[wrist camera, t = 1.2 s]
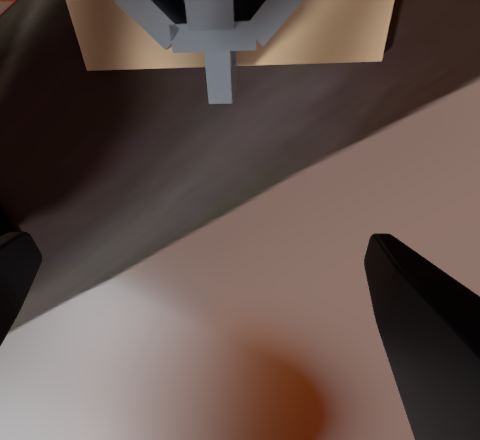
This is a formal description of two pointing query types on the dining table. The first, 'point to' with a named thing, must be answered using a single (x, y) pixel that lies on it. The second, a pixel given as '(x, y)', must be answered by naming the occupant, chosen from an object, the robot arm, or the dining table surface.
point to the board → (272, 53)
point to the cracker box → (5, 5)
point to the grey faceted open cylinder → (211, 32)
